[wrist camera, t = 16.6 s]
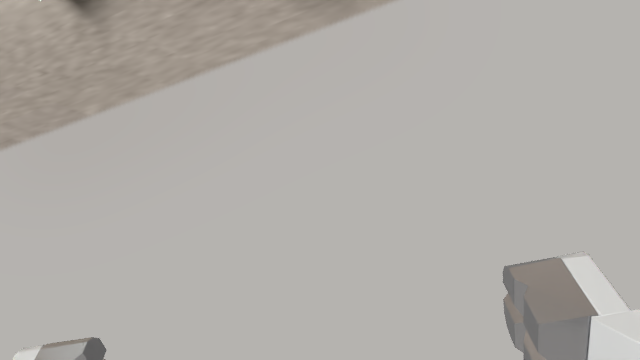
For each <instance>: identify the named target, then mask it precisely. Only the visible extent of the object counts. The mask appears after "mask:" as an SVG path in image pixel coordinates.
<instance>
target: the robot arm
mask: <svg viewBox="0 0 640 360" xmlns="http://www.w3.org/2000/svg"><path fill="white" fill-rule="evenodd" d="M503 283H504V285H505V287H506V289H507V291H508V294H507V296H506V297H505V298H504V314H505V319H506V324H507V327H508V330H509V334H510V336H511V339H512V341H513V343H514V345H515V348H517V349H518V350H520V351H522V352H523V353H524V360H640V309H637V310H631V309H630V308H629V307H628V306H627V304H626V303H625V302H624V300H623V299H622V298H621V297H620V295H619V294H618V292H617V291H616V290H615V288H614V287H613V286H612V285H611V284H610V282H609V281H608V279H607V278H606V277H605V276H604V274H603V273H602V272H601V270H600V269H599V268H598V266H597V265H596V264H595V262H594V261H593V260H592V258H591V257H590V256H589V255H588V254H587V253H585V252H578V253H573V254H567V255H562V256H557V257H556V258H555V257H553V258H548V259H543V260H537V261H531V262H526V263H520V264H515V265H509V266H505V267H504V270H503ZM105 352H106V348H105V347H104V345H103V343H102V342H101V340H100V339H99V338H94V337H91V338H85V339H78V340H71V341H64V342H57V343H51V344H46V345H41V346H34V347H28V348H23V349H21V350H20V351H19V352H17V353H16V354H15V356H14V358H13V360H105V359H103V358H104V355H105Z"/></svg>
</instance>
